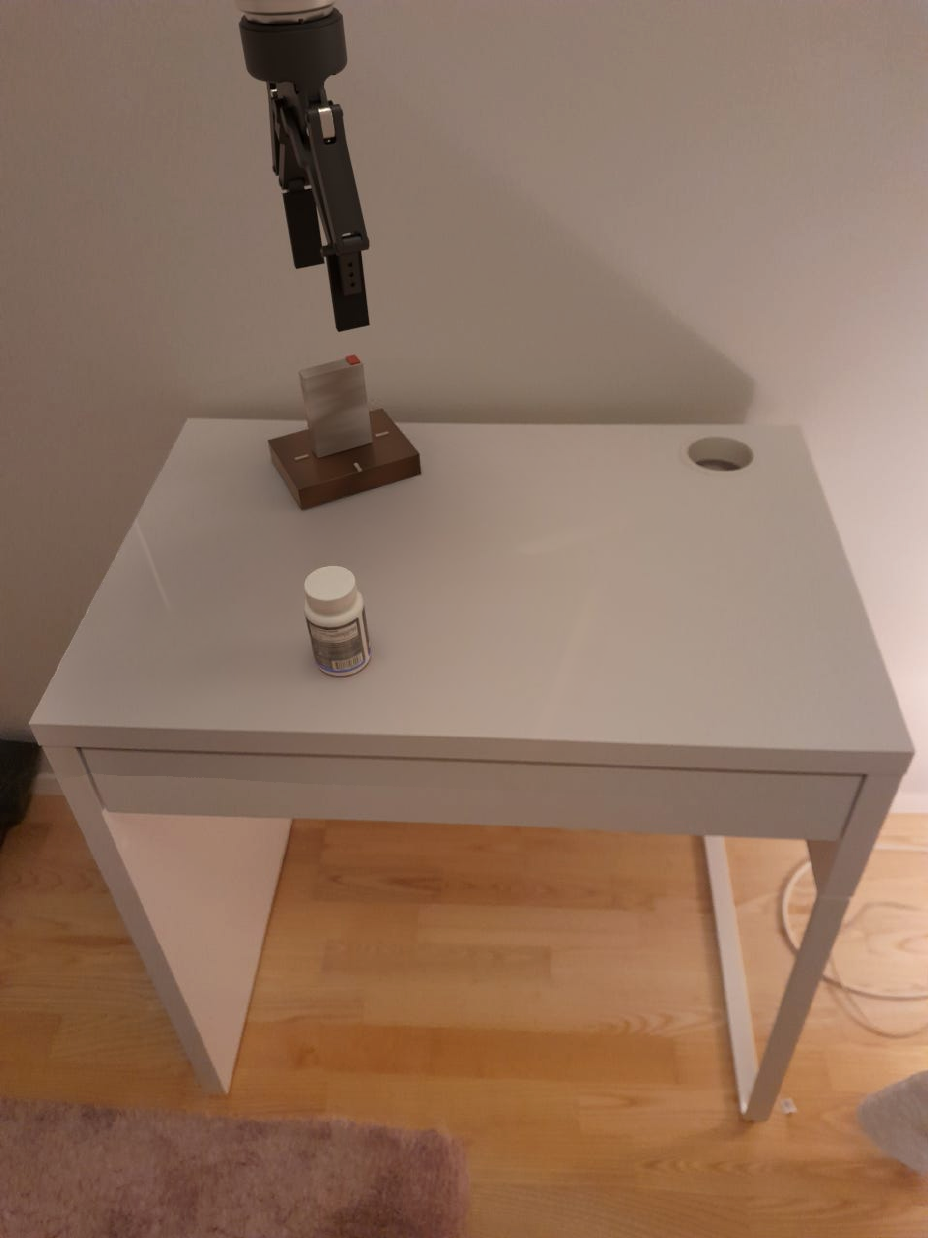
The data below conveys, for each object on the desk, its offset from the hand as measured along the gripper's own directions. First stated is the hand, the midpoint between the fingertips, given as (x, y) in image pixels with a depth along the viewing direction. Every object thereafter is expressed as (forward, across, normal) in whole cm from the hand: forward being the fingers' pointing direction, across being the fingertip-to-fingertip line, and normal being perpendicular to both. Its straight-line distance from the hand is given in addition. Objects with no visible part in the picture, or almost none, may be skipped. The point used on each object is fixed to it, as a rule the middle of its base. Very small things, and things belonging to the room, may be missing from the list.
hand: (330, 294), depth 82 cm
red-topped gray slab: (+18, +3, 0) cm, 18 cm away
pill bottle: (+20, -23, +8) cm, 32 cm away
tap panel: (+20, +3, 0) cm, 20 cm away
